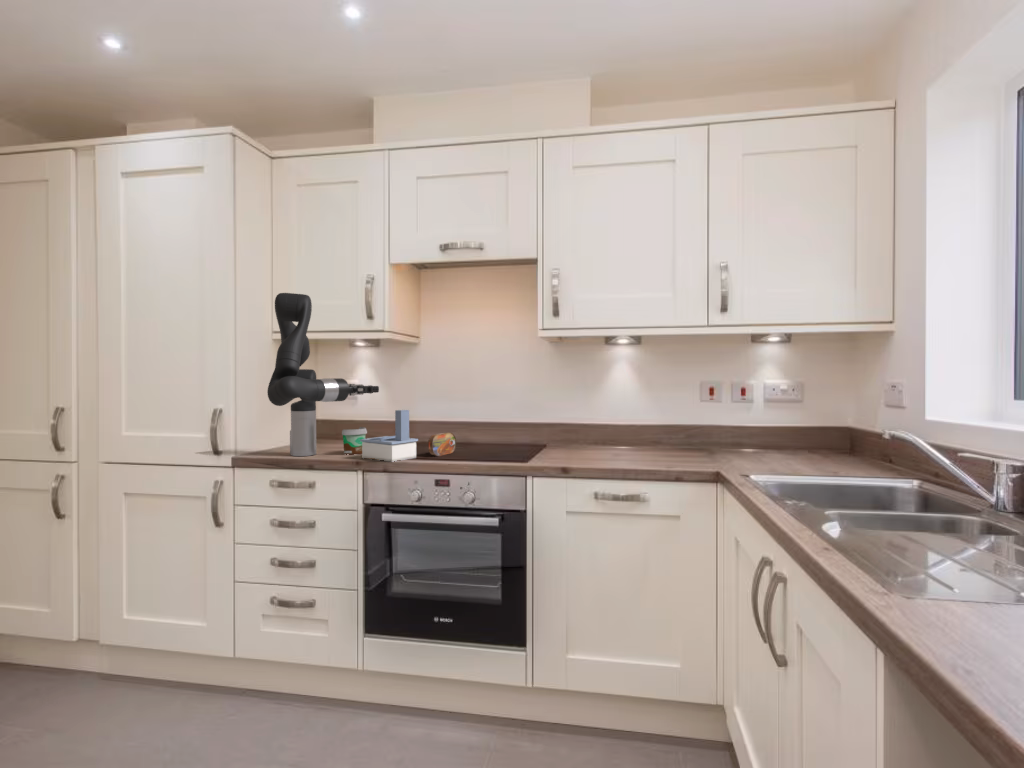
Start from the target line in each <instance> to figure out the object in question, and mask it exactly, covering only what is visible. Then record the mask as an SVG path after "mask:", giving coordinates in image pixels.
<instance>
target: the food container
mask: <svg viewBox="0 0 1024 768" xmlns="http://www.w3.org/2000/svg"><path fill="white" fill-rule="evenodd" d="M366 434H368V430H367V427H363V426H359V428H358V429H357V428H356V429H353V428H352V429H342V430H341V436H342V440H343V443H342V444H343V455H344V454H346V455H345V456H355V455H354V454H359V455H362V442H361V441H360V439H366ZM347 454H349V455H347Z"/></svg>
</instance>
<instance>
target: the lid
mask: <svg viewBox="0 0 1024 768" xmlns="http://www.w3.org/2000/svg"><path fill="white" fill-rule="evenodd" d="M394 414H395V415H394V416H395V419H394V420H395V421H394V422H395V427H394V429H395V431H394V433H395V434H394V435H390V436H389V435H384V436H377V437H376V436H375V437H369V438H368V437H367V438H365V439H360V441H361V442H371V443H381V444H390V445H393V444H400V443H407V442H419V438H414V437H410V410H409V409H398V410H397V409H396V410H395V412H394Z"/></svg>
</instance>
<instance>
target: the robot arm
mask: <svg viewBox="0 0 1024 768" xmlns="http://www.w3.org/2000/svg"><path fill="white" fill-rule="evenodd" d="M312 308H313V306H312V300H311V297H310V296H309V295H308V294H304V293H303V294H302V293H294V292H293V293H292V292H291V293H290V292H280V293H278V294H277V295H276V296H275V299H274V313H275V317H276V321H277V324H278V328H279V332H280V341H281V343H280V344H279V347H278V349H277V351H276V359H275V364H274V365H275V366H274V370H273V372H272V375H271V378H270V380H269V383H268V387H267V398H268V400H269V402H270V403H271V404H272V405H274V406H277V407H283V406H285V405H287V404H288V403H290V402H292V401H293V400H294V399H297V398H299V399H300V400H298V401H294V402H293V403H291V404H290V430H289V455H290V456H293V457H306V456H307V457H309V456H315V455H317V402H321V403H322V402H323V403H324V402H325V403H327V402H329V403H330V402H344V401H346V400H347V398H348V396H355V395H358V396H359V395H361V396H362V395H364V394H370V395H371V394H373V393H379V392H380V386H379V385H364V384H355V383H348V381H347V380H346V379H344V378H333V377H332V378H330V377H329V378H319V379H318V378H317V374H316V371H315V370H314V369H310V368H309V369H307V368H305V369H304V368H300V367H302V366H303V365H304V364H305V363H306V361H307V360H308V359H309V357H310V355H311V349H310V347H311V346H310V340H309V337H308V336H307V333H308V328H309V324H310V321H311V317H312V311H313V310H312ZM294 322H295V323H294ZM296 323H297V324H296Z"/></svg>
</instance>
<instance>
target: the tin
mask: <svg viewBox="0 0 1024 768" xmlns="http://www.w3.org/2000/svg"><path fill="white" fill-rule="evenodd" d="M456 447H457V439H456V436H455V434H454V433H453V432H451V431H449V432H443V433H441V432H440V433H436V434H435V433H434V434H432V435H431V436H430V437H429V438H428V441H427V448H428V452H429V454H430V455H432V457H433V456H435V457H442V456H446V455H451V454H453V453H454V451H455V450H456Z"/></svg>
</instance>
